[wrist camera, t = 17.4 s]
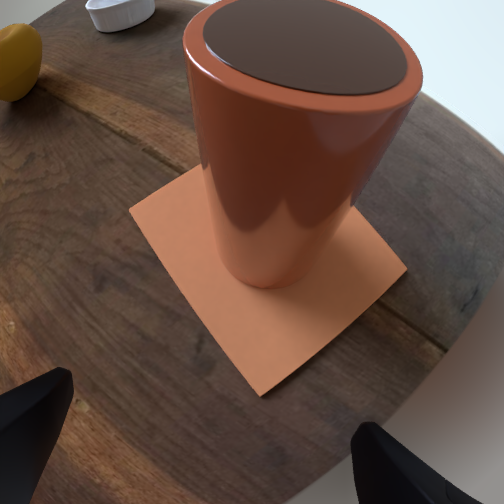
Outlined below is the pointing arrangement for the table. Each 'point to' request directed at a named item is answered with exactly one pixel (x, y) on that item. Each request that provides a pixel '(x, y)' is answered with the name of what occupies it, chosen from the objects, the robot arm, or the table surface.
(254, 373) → the terracotta mat
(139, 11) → the ramekin
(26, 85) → the apple
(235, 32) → the terracotta pot
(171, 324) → the table surface
